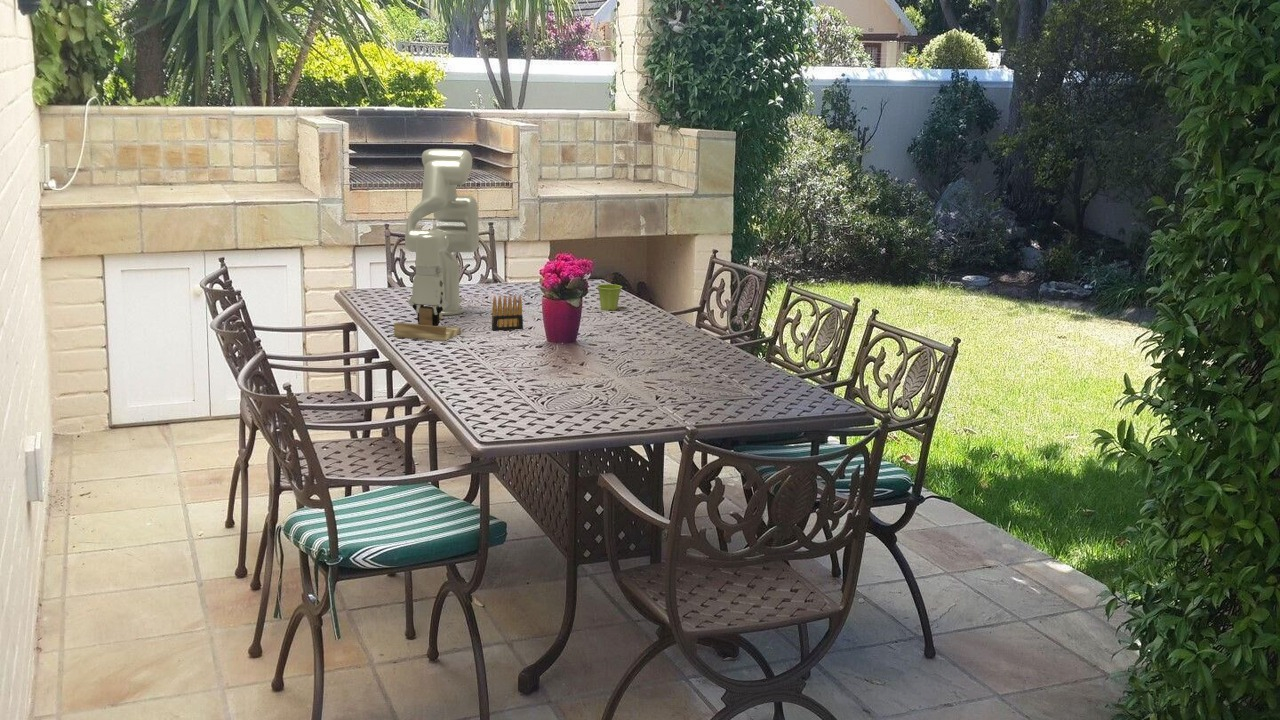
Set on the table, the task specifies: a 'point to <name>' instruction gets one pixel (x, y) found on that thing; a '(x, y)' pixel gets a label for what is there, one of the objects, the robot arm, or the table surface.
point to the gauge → (427, 315)
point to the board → (425, 331)
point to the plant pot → (609, 296)
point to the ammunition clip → (513, 319)
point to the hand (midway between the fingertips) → (428, 324)
